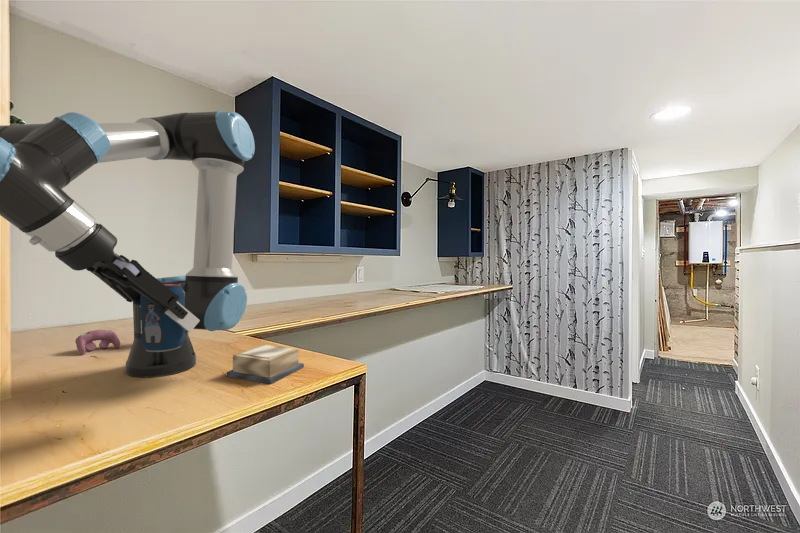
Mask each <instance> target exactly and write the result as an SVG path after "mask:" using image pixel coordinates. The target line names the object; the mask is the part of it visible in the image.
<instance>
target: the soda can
mask: <svg viewBox="0 0 800 533" xmlns="http://www.w3.org/2000/svg"><path fill="white" fill-rule="evenodd" d="M162 284H164V285H165V286H166V287H167V288H169V289H170V290H171V291H172V292H174V293H175V294H176V295H178V296H179V297H180V299H179V300H178V302H179V303H180V304H181V305H183V306H184V307H185V293H184V291H183V289H182V287H181V283H173V282H163V283H162ZM140 303H141V344H142V346H143V347H144V349H145V350H146V351H148V352H165V351H171V350H175V349H178V348H180V347H181V345H182V344H183V342H184V340H185V329H184V328H183V327H181V326H180V325H179V324H178V323H176V322H175V321H174V320H173V319H171V318H170V317H169V316H168V315H166V314H165V313H164V314H162V313H160V312H161V310H162V308H161V307H159V306H158V305H156V304H155V303H153V302H152V301H150V300H149V299H147V298H146V297H144V296H143V295H141V294H140Z"/></svg>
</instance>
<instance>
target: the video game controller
mask: <svg viewBox="0 0 800 533" xmlns="http://www.w3.org/2000/svg"><path fill="white" fill-rule="evenodd" d="M96 341H100V342H99V343H98V347H99V348H100V349H102V350H105V349H107V348H108V347H109V346H110V344H112V345H113V346H114V347H115V348H116V349H120V347H121V341H120V339H119V337H118V334H116V332H115V331H113V330H111V329H95V330H89V331H87V332H84V333H82V334H80V335H79V336H77V337H76V338H75V344H76V349H77V352H78V353H79V354H80V355H82V356H84V355H85V354H86V351H87V352H92V350H93V351H95V349H96V348H97V344H96V343H95V342H96ZM83 354H84V355H83Z"/></svg>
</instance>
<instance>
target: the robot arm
mask: <svg viewBox="0 0 800 533" xmlns="http://www.w3.org/2000/svg"><path fill="white" fill-rule="evenodd" d="M255 150H256V146H255V139H254V135H253V132H252V129H251V128H250V125H249V123H248V122H247V121H246V119H245V118H244V117H243V116H242V115H241V114H239V113H238V112H236V111H225V110H217V111H200V112H199V111H198V112H197V111H196V112H179V113H173V114H167V115H162V116H155V117H141V118H138V119H137V120H136V121H135V122H113V123H112V122H107V123H105V122H104V123H103V122H102V123H100V122H99V123H97V122H96V121H95V120H93V119H92V118H91V117H89V116H87V115H85V114H82V113H79V112H74V111H73V112H72V111H71V112H66V113H64V114H62V115H60V116H55V117H54V118H53V119H52V120H51V121H49V122H46V123H30V124H28V123H27V124H10V125H7V124H6V125H4V124H3V125H0V217H2V218H3V219H4V220H6V221H7V222H9V223H10V224H12V225H13V226H14V227H16V228H17V229H18V230H19V231H21V232H22V233H25V235H27V236H29V237H31V238H30V239H29V241H28V242H29V243H30V244H31V245H32V246H33V245H34V246H36V245H40V246H41V247H42V248H44V249H45V250H47V251H48V252H54V255H55V257H56V259H58V260H59V261H61V262H62V263H63V264H65V265H66V266H68V267H69V268H70V269H72V270H74V271H84V270H86V271H88V272H89V273H92V274H93V275H94V276H96V277H97V278H98V279H99V280H101V281H102V282H103V283H105V284H106V285H107V286H108V287H109V288H111V289H112V290H113V291H114V292H115V293H117V294H118V295H120V296H121V297H122V298H123V299H124V300H125V301H126V302H129V303H132V312H133V318H132V319H133V343H132V345H131V348H130V351H129V353H128V356H127V360H126V361H125V373H126V375H128V376H131V377H138V378H153V377H162V376H168V375H173V374H177V373H181V372H184V371H187V370H189V369H191V368H194V366H196V364H197V355H196V352H195V350H194V347H193V343H192V342H191V339H190V336H189V333H191V332H192V331H193V330H203V331H209V332H215V331H228V330H231V329H233V328H234V327H235V326H236V325H237V324H238V323H239V322H240V320H241V319H242V318H243V316H244V314H245V311H246V308H247V304H248V295H247V294H248V293H247V292H246V289H245V287H244V286H243V285H241V284H240V283H239V282H238V281H239V279H238V278H239V276H238V274H237V273H235V271H233V270H234V269H232V268H233V252H234V237H235V236H234V234H235V233H234V232H235V218H236V217H235V215H236V201H237V200H236V199H237V198H236V196H237V179H238V178H237V177H238V176H239V175H240V174H241V173H243V172H244V170H245V168H244V166H245V162H248V161H249V160H252V159H253V157H254V156H255ZM143 158H146V159H148V160H151V161H162V160H172V161H173V160H174V161H175V160H176V161H186V162H189V161H190V162H191V163H192V165H193V166H194V167H195V168H196V170H198V176H197V177H198V179H197V181H198V182H197V194H196V195H197V197H196V214H195V215H196V216H195V227H194V228H195V229H194V231H195V232H194V248H193V265H192V266H193V267H192V268H191V269H190V270H189V271H188V272H187V273H186V274H185V275H177V276H176V275H175V276H168V277H158V278H157V277H155V276H154V275H153V274H151V273H150V272H148V271H147V270H146V269H145V268H144V267H143V265H141V264H140V262H139V261H137V260H135V259H131V260H130V259H129V258H127V257H126V256H124V255H123V254H120V255H119V254H118V253H115V251H114V249H115V247H116V246H117V244H118V238H117V236H115V235H114V234H113V233H111V231H109V229H107V228H106V227H105V226H104V225H102V224H101V223H97V222H96V218H95V217H94V215H92V214H91V213H89V211H87V210H86V209H85V208H84V207H82V206H81V205H80V204H79V203H78V202H77V201H76V200H74V199H73V198H72V197H70V196H69V195H68V194H67V193H66V192H65V191H64V190H63V189H64V188H65V187H67V186H68V185H70V183H71V182H73V181H74V180H75V179H77V178H78V177H79V176H80V175H82V174H84V173H85V172H86V171H87V170H89V169H90V168H92V167H93V166H94V165H97V164H100V163H101V164H102V163H109V162H117V161H127V160H133V159H143ZM163 282H173V283H181V287H182V289H183V291H184V293H185V307H184V306H183V305H181V304H180V303H179V302H178V300H179V299H180V297H179V296H178V295H176V294H175V293H174V292H172V291H171V290H170V289H169V288H167V287H166V286H165V285H164V284H162V283H163ZM140 294H141V295H143V296H144V297H146V298H147V299H149V300H150V301H152V302H153V303H155V304H156V305H158V306H159V307H161V308H162V310H161V312H160V313H162V314H164V313H165V314H166V315H168V316H169V317H170V318H171V319H173V320H174V321H175V322H176V323H178V324H179V325H180V326H181V327H183V328H184V329H185V340H184V342H183V344H182V345H181V347H180V348H178V349H175V350H171V351H165V352H148V351H146V350H145V349H144V347H143V346H142V344H141V303H140Z"/></svg>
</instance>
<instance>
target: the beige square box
mask: <svg viewBox="0 0 800 533" xmlns="http://www.w3.org/2000/svg"><path fill="white" fill-rule="evenodd" d="M303 368H305V364H304V363H301V362H299V348H294V347H293V348H292V347H288V346H287V347H285V346H279V345H278V346H277V345H272V344H266V343H265V344H261V345H258V346H255V347H253V348H250V349H246V350H244V351H240V352H238V353H235V354H233V355H232V369H231V370H229V371H226V377H228V378H229V377H230V378H234V379H235V378H236V379H240V380H245V381H251V382H257V383H262V384H267V385H268V384H269V385H273V384H274V383H276V382H278V381H280V380H282V379H283V378H285V377H288V376H289V375H292V374H293V373H295V372H297V371H300V370H301V369H303Z"/></svg>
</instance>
